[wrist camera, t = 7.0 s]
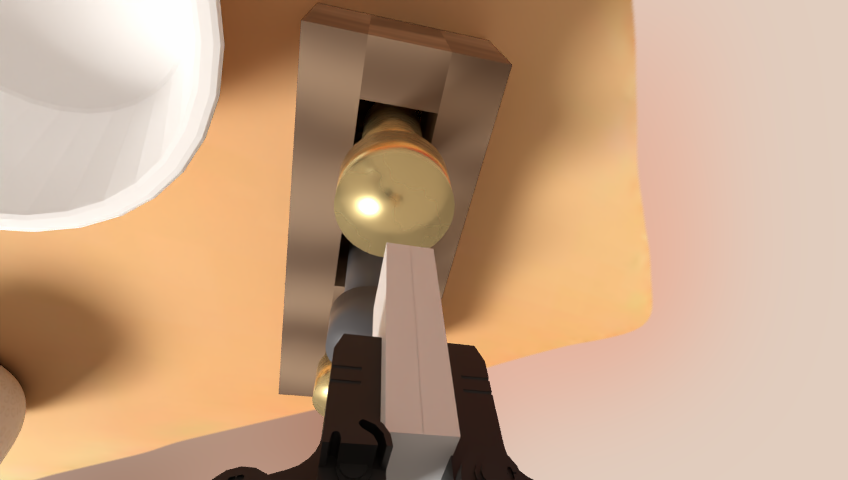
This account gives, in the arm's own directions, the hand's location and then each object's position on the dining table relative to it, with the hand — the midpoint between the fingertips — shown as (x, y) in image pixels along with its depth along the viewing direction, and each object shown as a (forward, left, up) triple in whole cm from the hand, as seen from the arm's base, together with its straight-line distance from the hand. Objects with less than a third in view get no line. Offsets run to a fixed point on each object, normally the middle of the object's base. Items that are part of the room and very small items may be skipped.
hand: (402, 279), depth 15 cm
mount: (+8, 0, -17) cm, 19 cm away
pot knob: (+8, 0, -14) cm, 16 cm away
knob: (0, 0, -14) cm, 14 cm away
